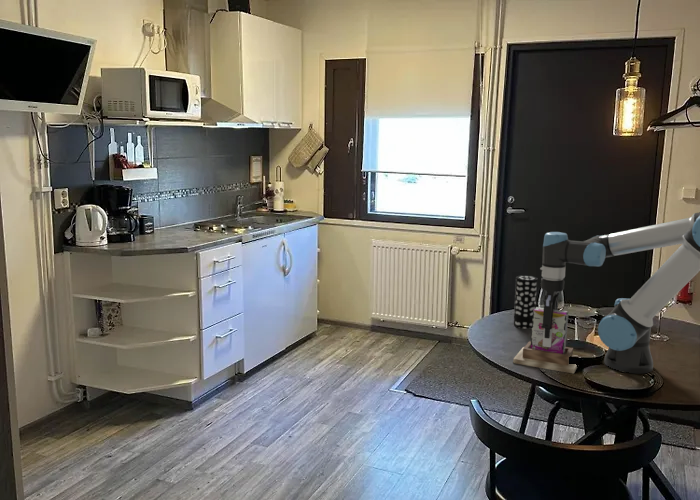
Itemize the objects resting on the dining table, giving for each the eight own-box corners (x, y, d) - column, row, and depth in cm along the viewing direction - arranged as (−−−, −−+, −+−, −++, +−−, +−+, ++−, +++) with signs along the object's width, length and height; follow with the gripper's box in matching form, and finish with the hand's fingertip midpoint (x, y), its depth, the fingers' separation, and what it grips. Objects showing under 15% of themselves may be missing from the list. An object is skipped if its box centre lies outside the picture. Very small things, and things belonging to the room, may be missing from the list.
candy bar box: (529, 355, 222) (532, 309, 219) (532, 351, 226) (535, 306, 223) (563, 361, 217) (566, 314, 214) (565, 356, 221) (568, 310, 218)
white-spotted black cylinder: (535, 329, 258) (538, 280, 254) (513, 327, 259) (516, 279, 256) (533, 323, 266) (536, 276, 262) (513, 321, 267) (515, 275, 264)
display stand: (580, 360, 224) (581, 347, 223) (573, 373, 211) (574, 359, 211) (523, 350, 233) (523, 338, 232) (513, 362, 221) (513, 349, 220)
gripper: (547, 271, 226) (543, 335, 230) (535, 282, 210) (531, 350, 215) (569, 274, 223) (564, 338, 227) (559, 285, 207) (554, 353, 211)
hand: (548, 343), depth 221 cm, fingers closed on candy bar box, 5 cm apart
